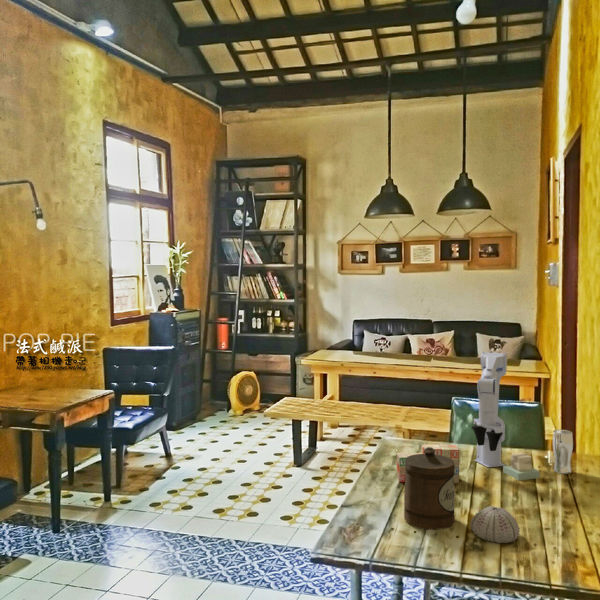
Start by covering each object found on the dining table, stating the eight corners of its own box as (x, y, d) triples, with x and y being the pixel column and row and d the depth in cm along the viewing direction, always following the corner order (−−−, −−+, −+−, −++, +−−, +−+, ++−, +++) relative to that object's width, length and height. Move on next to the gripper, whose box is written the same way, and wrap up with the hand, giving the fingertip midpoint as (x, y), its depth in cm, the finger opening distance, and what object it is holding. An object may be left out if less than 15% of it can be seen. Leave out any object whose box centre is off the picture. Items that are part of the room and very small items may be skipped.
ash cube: (511, 467, 227) (510, 453, 227) (522, 465, 228) (522, 452, 228) (519, 471, 222) (519, 457, 222) (531, 469, 224) (531, 456, 223)
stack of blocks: (399, 483, 218) (399, 449, 218) (396, 477, 224) (396, 444, 224) (459, 483, 218) (459, 449, 217) (455, 477, 224) (455, 444, 224)
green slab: (503, 474, 229) (503, 466, 229) (523, 471, 231) (523, 463, 231) (518, 481, 220) (518, 473, 220) (539, 479, 223) (539, 471, 223)
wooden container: (455, 531, 176) (455, 456, 175) (403, 527, 179) (403, 453, 178) (453, 512, 191) (453, 442, 190) (405, 509, 194) (405, 440, 193)
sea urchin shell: (486, 523, 182) (487, 496, 182) (529, 537, 172) (529, 509, 172) (461, 535, 174) (461, 507, 173) (504, 551, 163) (504, 521, 163)
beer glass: (575, 474, 226) (576, 434, 226) (556, 474, 226) (557, 434, 226) (567, 468, 233) (568, 429, 233) (549, 468, 233) (549, 429, 233)
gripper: (466, 407, 230) (466, 443, 230) (489, 416, 216) (488, 454, 217) (482, 406, 232) (482, 442, 232) (506, 414, 218) (506, 452, 219)
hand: (486, 447), depth 225 cm, fingers open, 7 cm apart
